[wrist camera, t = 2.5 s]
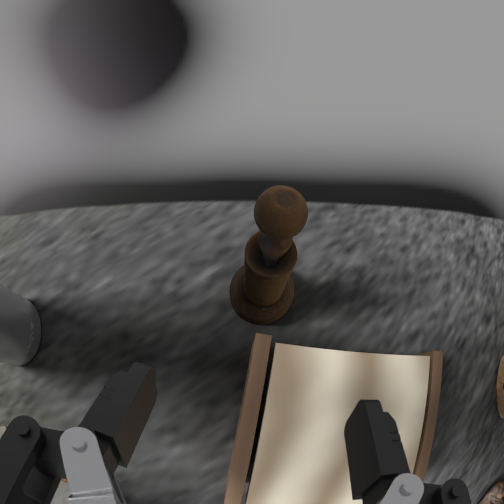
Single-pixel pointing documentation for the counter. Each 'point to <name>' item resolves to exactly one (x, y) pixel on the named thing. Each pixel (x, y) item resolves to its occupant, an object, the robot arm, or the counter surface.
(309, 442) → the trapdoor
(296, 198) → the brown wooden pepper mill
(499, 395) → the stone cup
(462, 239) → the counter surface
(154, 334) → the counter surface
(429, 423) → the brown upright panels
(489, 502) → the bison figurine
